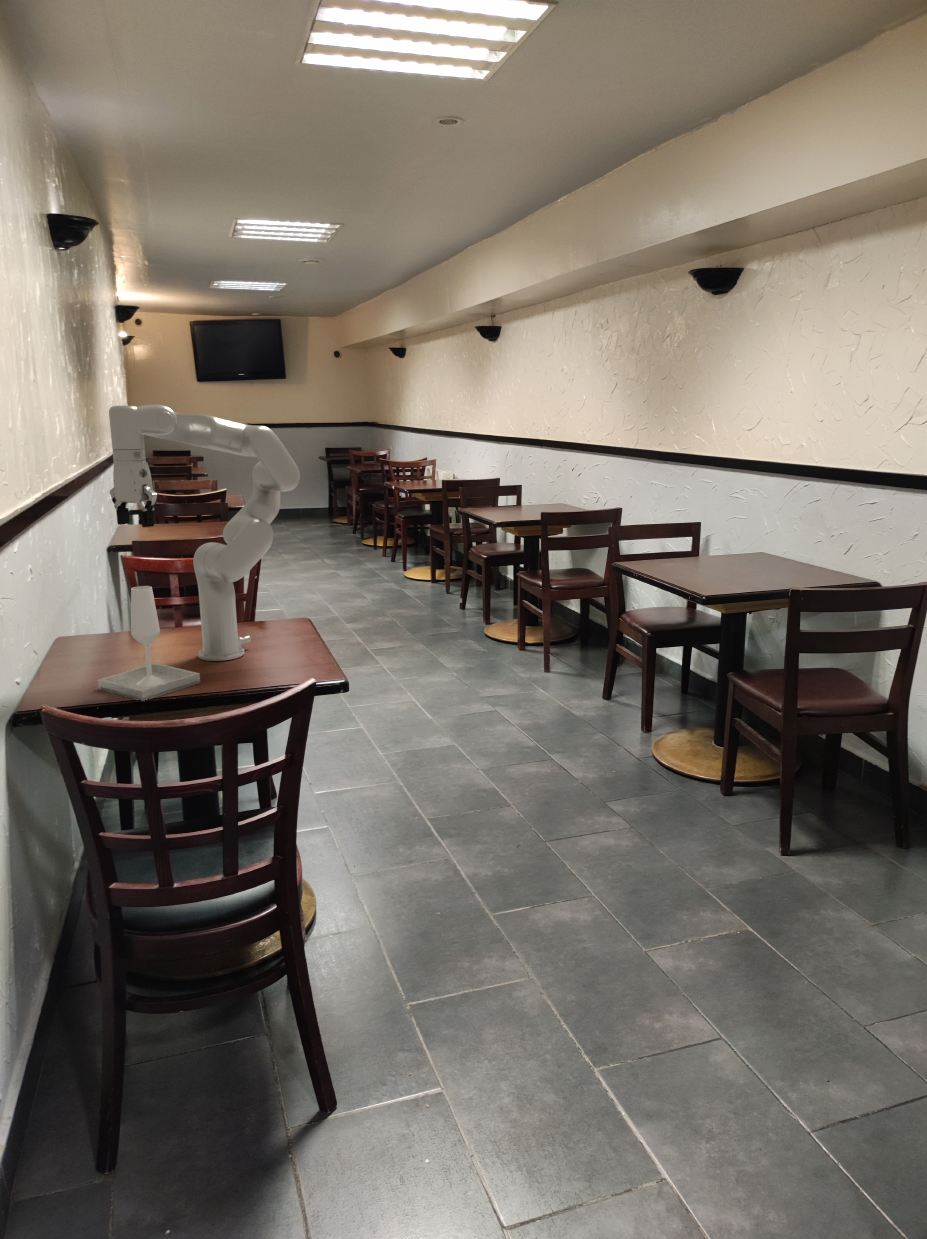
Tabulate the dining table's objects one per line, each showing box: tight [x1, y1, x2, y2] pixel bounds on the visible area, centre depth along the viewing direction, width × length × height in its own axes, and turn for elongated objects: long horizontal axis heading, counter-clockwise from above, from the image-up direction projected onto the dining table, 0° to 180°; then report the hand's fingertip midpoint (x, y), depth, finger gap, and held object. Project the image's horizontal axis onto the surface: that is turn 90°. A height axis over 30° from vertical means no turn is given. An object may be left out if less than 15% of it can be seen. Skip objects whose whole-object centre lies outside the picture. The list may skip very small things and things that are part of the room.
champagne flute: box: [130, 585, 164, 687], centre depth 208 cm, size 7×7×24 cm
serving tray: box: [97, 662, 201, 702], centre depth 211 cm, size 17×17×2 cm
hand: (135, 525), depth 215 cm, fingers open, 9 cm apart
